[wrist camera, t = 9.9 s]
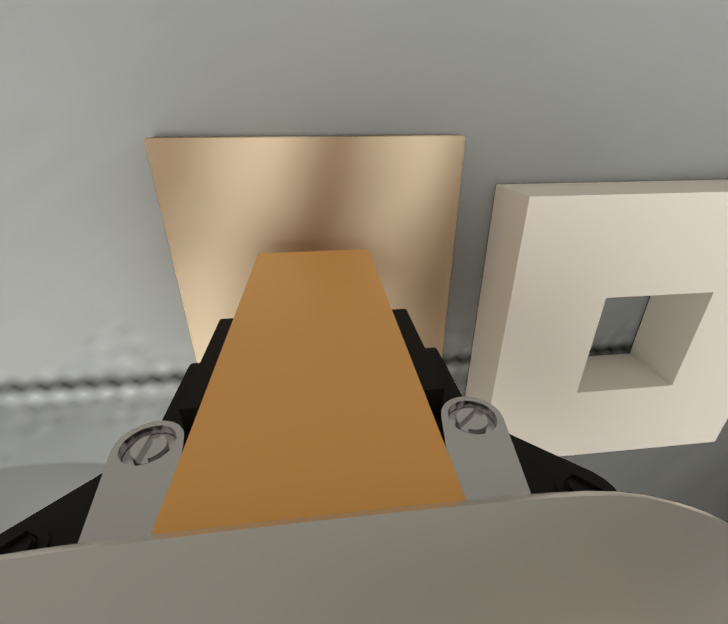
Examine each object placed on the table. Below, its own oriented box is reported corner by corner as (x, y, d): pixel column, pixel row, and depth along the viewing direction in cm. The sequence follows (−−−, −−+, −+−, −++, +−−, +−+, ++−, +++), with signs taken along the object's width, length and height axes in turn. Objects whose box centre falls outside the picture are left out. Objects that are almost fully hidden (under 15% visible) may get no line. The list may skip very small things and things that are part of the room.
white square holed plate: (776, 178, 18) (854, 188, 16) (671, 406, 25) (714, 441, 22) (496, 184, 17) (529, 196, 14) (461, 424, 23) (479, 463, 21)
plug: (368, 249, 14) (483, 542, 5) (367, 340, 16) (449, 685, 6) (258, 253, 14) (131, 584, 4) (271, 346, 16) (203, 724, 6)
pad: (457, 135, 16) (465, 136, 15) (434, 372, 21) (439, 383, 20) (153, 137, 15) (143, 138, 14) (211, 388, 20) (206, 400, 19)
